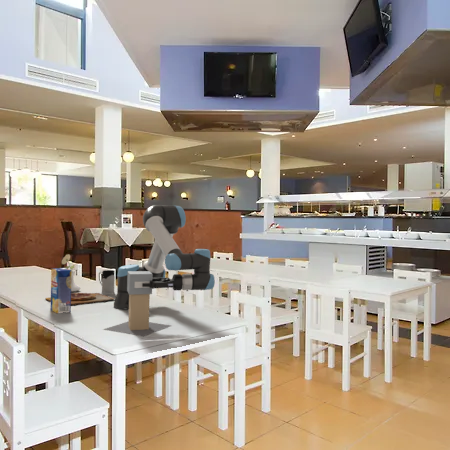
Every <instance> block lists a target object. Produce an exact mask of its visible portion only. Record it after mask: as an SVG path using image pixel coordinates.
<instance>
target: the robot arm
mask: <svg viewBox="0 0 450 450" xmlns="http://www.w3.org/2000/svg"><path fill="white" fill-rule="evenodd" d="M186 219H187V217H186V213H185V210H184V208H183V207H182V206H180V205H167V204H166V205H165V204H164V205H163V204H153V205H151V206H149V207H147V209H146V210H145V211H144V212H143V215H142V224H143V225H144V227H145V229H146V231H148V232H150V233H151V236H152V237H153V238H154V242H153V245H152V248H151V252H150V253H149V256H148V260H146V261H145V262H144V263H143V266H140V265H139V264H126V265H122V266H120V267H118V269H117V275H116V276H117V287H116V288H117V289H116V290H117V291H116V292H117V293H116V296H115V297H114V298H115V299H114V301H113V308H114V309H119V310H129V293H128V291H127V277H128V271H150V272H151V273H152V274H153V276H152V281H151V280H150V282H149V281H144V282H135V286H134V288H149V287H150V288H152V290H153V289H165V288H172V290H173V291H181V290H182V291H186V292H189V291H209V290H213V289H214V287H215V284H216V282H215V276H214V274H213V273H211V272H210V270H211V251H210V249H206V248H196V249H195V250H194V252H192V253H183V251H182V250H181V248H180V247H179V245H178V244H177V242H176V241H175V239H174V237H173V236H174V235H175V234H177V233H178V231H179V228H180V229H182V228H184V227H185V225H186V221H187V220H186ZM164 265H165V268H166V269H167V270H168V271H187V270H188V271H189V270H193V273H182V274H181V273H180V274H179V273H175V274H173V275H172V278H169V277H166V270H165V268H164Z"/></svg>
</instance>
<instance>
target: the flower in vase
mask: <svg viewBox="0 0 450 450" xmlns="http://www.w3.org/2000/svg"><path fill="white" fill-rule="evenodd" d="M70 260H71V255H70V254H65V256H64V257H62V260H61V265H65V264H67V263H68V265H66V266H65V267H64V268H66V269H69V270H72V276H71V293H74V292H78V291H79V290H81V287H80V285H78V284H77V283H76V282H75V281H74V276H75V273H76V270H73V269H74V268H75V264H73V265H70V262H69V261H70Z"/></svg>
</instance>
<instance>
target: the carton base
mask: <svg viewBox="0 0 450 450" xmlns="http://www.w3.org/2000/svg"><path fill="white" fill-rule="evenodd" d="M150 296H151V294H132V295H129V309H128V321H127V322H128V326H129V329H130V330H144V329H149V322H150Z"/></svg>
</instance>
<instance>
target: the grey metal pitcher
mask: <svg viewBox="0 0 450 450" xmlns="http://www.w3.org/2000/svg"><path fill="white" fill-rule="evenodd" d="M101 274H102V279H101V277H100V276H101ZM115 278H116V276H115V270H112V269H111V270H108V269H107V270H106V269H105V270H102V271H100V272H99V273H98V281H99V284H100V285H101V292H100V294H102V295H107V296H111V295H112V296H113V295H115V294H116V293H115Z"/></svg>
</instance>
